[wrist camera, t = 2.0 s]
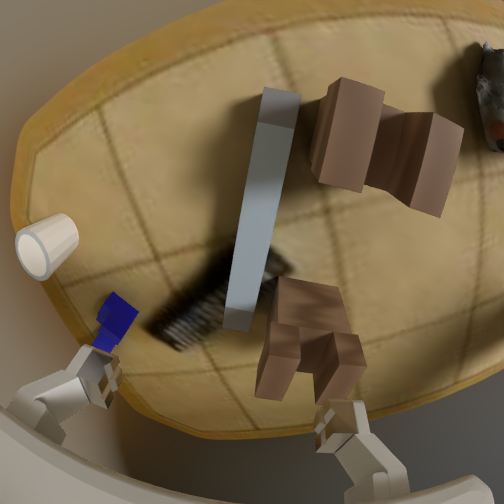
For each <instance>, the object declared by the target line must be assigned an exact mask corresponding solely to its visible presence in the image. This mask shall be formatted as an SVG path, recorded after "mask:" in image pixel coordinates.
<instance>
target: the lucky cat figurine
mask: <svg viewBox="0 0 504 504" xmlns="http://www.w3.org/2000/svg"><path fill="white" fill-rule="evenodd" d="M476 91H477V100H478V105H479V109H480V114H481V118H482V122H483V127H484V132H485V138H486V141H487V143H488V145H489V148H490V149H491V151H495V152H501V153H504V49H498V50H495V49H492V48H491V47H490V46H489V45H488V42H487V41H486V42H485V44H484V45H483V59H482V63H481V66H480V69H479V72H478V75H477V89H476Z"/></svg>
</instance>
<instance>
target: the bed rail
mask: <svg viewBox="0 0 504 504" xmlns="http://www.w3.org/2000/svg"><path fill="white" fill-rule="evenodd" d="M301 95H302V94H298V93H293V92H288V91H284V90H278V89H273V88H267V87H264V90H263V95H262V100H261V105H260V110H259V115H258V121H257V126H256V131H255V137H254V142H253V147H252V153H251V158H250V164H249V169H248V175H247V180H246V186H245V191H244V197H243V203H242V209H241V214H240V220H239V226H238V232H237V238H236V244H235V250H234V256H233V262H232V268H231V274H230V280H229V286H228V292H227V299H226V305H225V311H224V318H223V324H222V328H226V329H231V330H236V331H241V332H246V333H249V331H250V327H251V323H252V319H253V315H254V310H255V306H256V302H257V298H258V293H259V289H260V285H261V280H262V276H263V272H264V267H265V263H266V259H267V254H268V250H269V245H270V241H271V236H272V232H273V227H274V223H275V218H276V214H277V209H278V205H279V200H280V196H281V191H282V186H283V182H284V177H285V173H286V168H287V163H288V158H289V154H290V149H291V144H292V139H293V135H294V130H295V125H296V120H297V115H298V110H299V105H300V100H301Z"/></svg>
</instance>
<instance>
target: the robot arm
mask: <svg viewBox="0 0 504 504" xmlns="http://www.w3.org/2000/svg"><path fill="white" fill-rule="evenodd" d="M119 362H120V361H119V357H118V356H116V355H113V354H111V353H108V352H105V351H103V350H100V349H98V348H95V347H93V346H90V345H88V344H84V345H83V346H82V347H81V348H80V350H79V351H78V352H77V354H76V355H75V357H74V358H73V360H72V361H71V362H70V364H69V365H68V367H67V368H66V370H60V371H57V372H55V373H53V374H51V375H48V376H46V377H44V378H42V379H40V380H37V381H35V382H33V383H30V384H28V385H26V386H24V387H21V388H20V389H19V390H18V392H17V393H16V395H15V396H14V398H13V399H12V401H11V402H10V404H9V405H8V407H7V408H6V409H4V408H3V407H2V406H0V504H238V503H231V502H223V501H217V500H212V499H206V498H201V497H196V496H191V495H187V494H183V493H179V492H175V491H171V490H168V489H164V488H160V487H157V486H154V485H151V484H148V483H145V482H141V481H138V480H136V479H133V478H130V477H127V476H124V475H122V474H120V473H117V472H115V471H112V470H110V469H107V468H104V467H103V466H100V465H98V464H96V463H93V462H91V461H89V460H87V459H85V458H83V457H81V456H79V455H77V454H75V453H73V452H71V451H69V450H68V449H66V448H64V447H62V446H61V445H62V443H63V441H64V439H65V437H66V434H65V432H64V430H63V429H62V428H61V426H60V425H59V423H61V422H63V421H64V420H66V419H67V418H69V417H70V416H72V415H73V414H75V413H77V412H78V411H79V410H81V409H83V408H84V407H86V406H87V405H88V404H90V403H92V404H95V405H98V406H100V407H103V408H105V409H108V408H109V406H110V404H111V402H112V400H113V398H114V396H113V392H114V391H116V390H118V388H119V386H120V384H121V380H122V369H121V368H120V367H119V365H118V364H119ZM314 430H315V431H316V432H317V433H318V435H317V437H316V438H315V452H319V453H335V455H336V457H337V458H338V460H339V461H340V463H341V464H342V466H343V467H344V469H345V470H346V472H347V473H348V475H349V476H350V477H351V479H352V480H353V482H354V483H355V486H354V487H352V488H350V489H349V490H347V491H346V492H345V493H344V495H345V496H344V497H345V504H494V499H493V495H492V492H491V490H490V488H489V487H488V486H487V485H486V484H485V483H483V482H482V481H481V480H480V479H479V478H477V477H476V476H474V475H468V476H465V477H462V478H459V479H457V480H454V481H451V482H448V483H446V484H443V485H439V486H436V487H433V488H430V489H426V490H423V491H419V492H415V493H412V494H410V488H409V483H408V477H407V472H406V468H405V467H404V465H403V464H402V463H401V462H400V461H399V460H398V459H397V458H396V457H395V456H394V455H393V454H392V453H391V452H390V451H389V450H388V449H387V448H386V446H385V445H384V444H383V443H382V442H381V441H380V440H379V439H378V438H377V437H376V436H375V435H374V434H373V433H370V429H369V424H368V419H367V414H366V410H365V405H364V402H363V401H362V400H350V399H326V400H325V401H324V403H323V407H322V408H320V409H319V410H318V412H317V413H316V416H315V419H314Z"/></svg>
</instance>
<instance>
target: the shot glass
mask: <svg viewBox="0 0 504 504" xmlns="http://www.w3.org/2000/svg"><path fill="white" fill-rule="evenodd" d="M78 243H79V235H78V230H77V228H76V226H75V224H74V222H73V221H72V220H71V219H70V217H68V216H67V215H65V214H55V215H53V216H51V217H48V218H46V219H43V220H41V221H39V222H36V223H34V224H32V225H30V226H27V227H25V228H23V229H21V230H20V231H19V232H18V233H17V236H16V239H15V248H16V252H17V256H18V259H19V261H20V262H21V265H22V267H23V268H24V269H25V270H26V272H27V273H28V274H29V275H30V276H31V277H33V278H34V279H36V280H39V281H44V280H47V279H48V278H49V277H50V276H51V275H52V274H53V272H54V271H55V270H56V269H57V268H58V267H59V266H60V265H61V264H62V263H63V262H64V261H65V260H66V259H67V258H68V257H69V256H70V255H71V254H72V253H73V252H74V251H75V249H76V248H77V246H78Z"/></svg>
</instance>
